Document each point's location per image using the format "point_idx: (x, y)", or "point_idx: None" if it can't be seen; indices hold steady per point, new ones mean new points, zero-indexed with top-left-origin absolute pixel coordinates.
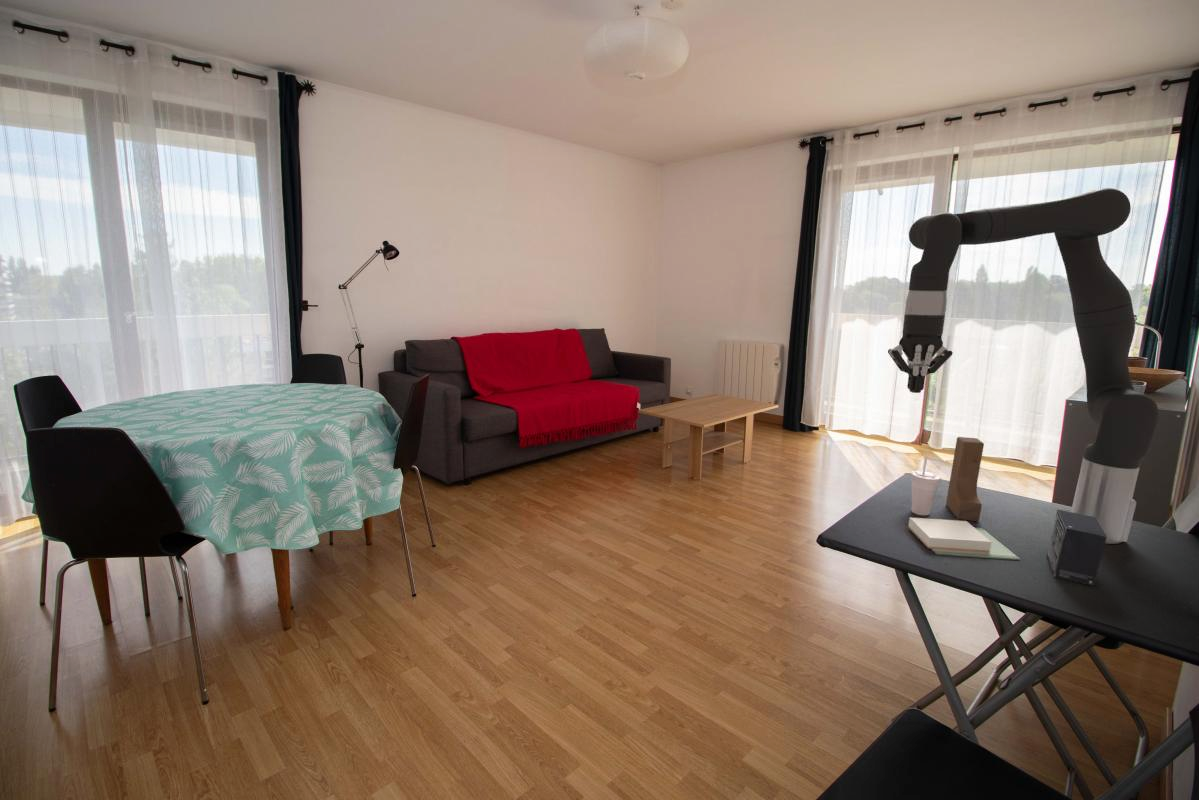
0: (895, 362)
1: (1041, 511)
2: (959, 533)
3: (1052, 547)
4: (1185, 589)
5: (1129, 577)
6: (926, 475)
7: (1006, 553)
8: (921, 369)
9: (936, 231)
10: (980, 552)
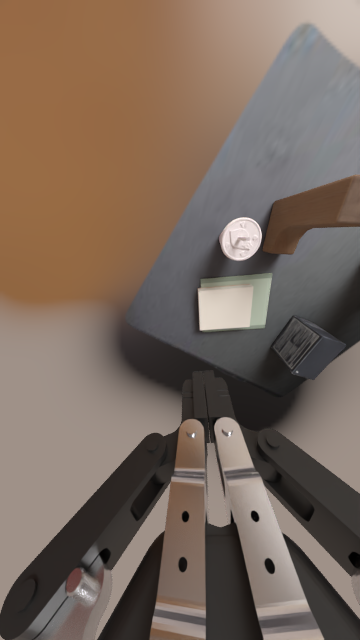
0: (104, 491)
1: None
2: (230, 316)
3: (291, 334)
4: (352, 344)
5: None
6: (239, 246)
7: (259, 321)
8: (220, 475)
9: None
10: None
